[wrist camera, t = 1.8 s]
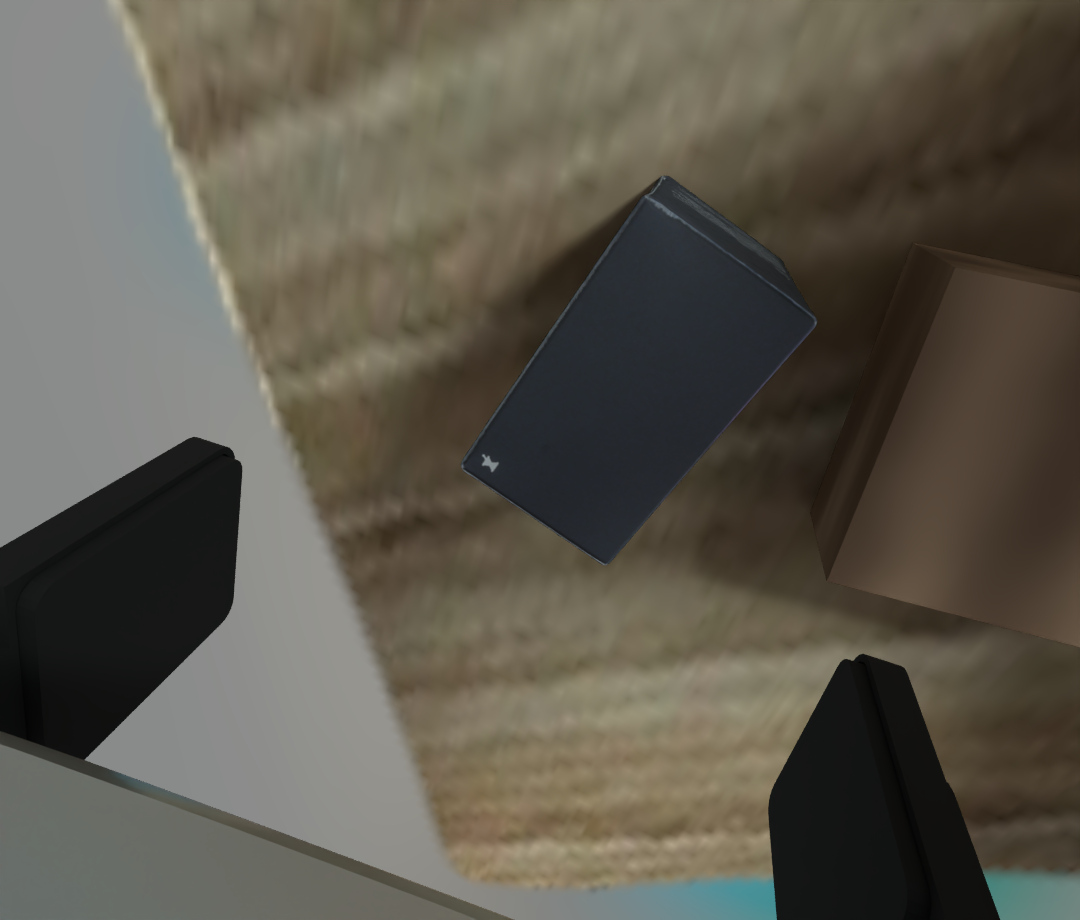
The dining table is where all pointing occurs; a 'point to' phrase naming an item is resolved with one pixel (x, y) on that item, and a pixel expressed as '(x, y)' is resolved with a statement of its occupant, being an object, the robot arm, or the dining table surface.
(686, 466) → the small box
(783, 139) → the dining table surface
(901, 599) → the walnut block
